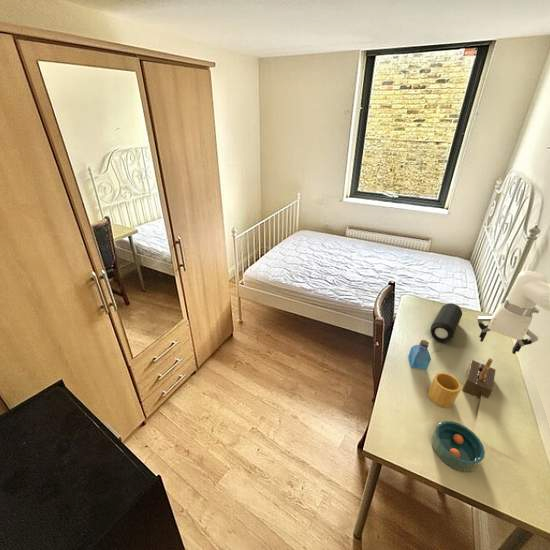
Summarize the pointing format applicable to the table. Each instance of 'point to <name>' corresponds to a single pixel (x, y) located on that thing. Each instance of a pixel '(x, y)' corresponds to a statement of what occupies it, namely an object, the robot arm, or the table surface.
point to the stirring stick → (485, 369)
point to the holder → (478, 386)
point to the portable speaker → (446, 322)
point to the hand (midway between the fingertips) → (497, 345)
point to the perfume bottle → (420, 355)
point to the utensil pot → (444, 390)
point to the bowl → (458, 446)
